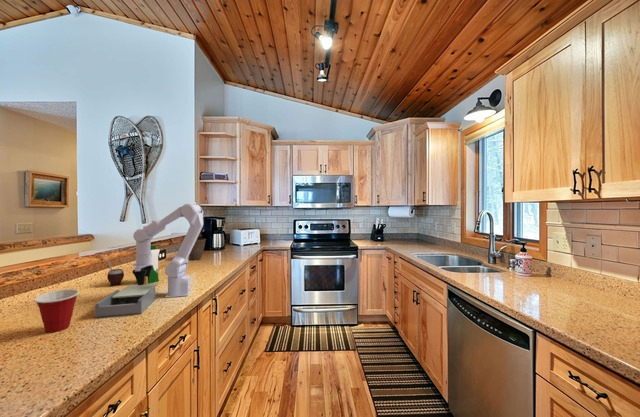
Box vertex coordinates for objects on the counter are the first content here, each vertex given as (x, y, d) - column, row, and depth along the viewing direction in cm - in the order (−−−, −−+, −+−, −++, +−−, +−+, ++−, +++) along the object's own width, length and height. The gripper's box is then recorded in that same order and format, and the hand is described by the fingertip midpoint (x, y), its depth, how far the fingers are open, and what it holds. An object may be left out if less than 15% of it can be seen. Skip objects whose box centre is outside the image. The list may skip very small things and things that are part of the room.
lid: (157, 284, 127) (158, 275, 127) (145, 295, 111) (145, 285, 111) (129, 286, 123) (129, 277, 123) (111, 298, 107) (111, 288, 107)
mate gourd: (127, 283, 143) (127, 255, 143) (114, 287, 135) (114, 258, 135) (114, 282, 144) (114, 255, 144) (101, 287, 136) (101, 258, 136)
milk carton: (161, 280, 148) (161, 245, 148) (145, 285, 140) (145, 247, 140) (150, 279, 151) (150, 244, 151) (134, 283, 143) (134, 246, 143)
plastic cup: (26, 339, 82) (26, 301, 82) (43, 325, 91) (43, 291, 91) (72, 332, 87) (72, 296, 87) (83, 320, 96) (83, 287, 96)
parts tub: (155, 299, 118) (155, 287, 118) (141, 314, 102) (141, 300, 102) (116, 302, 114) (116, 290, 114) (95, 318, 98) (95, 303, 98)
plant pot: (191, 262, 200) (191, 241, 200) (180, 259, 208) (181, 239, 208) (209, 259, 212) (209, 239, 212) (198, 257, 220) (198, 238, 220)
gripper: (139, 252, 130) (139, 279, 130) (127, 257, 116) (126, 288, 116) (155, 251, 132) (155, 278, 132) (145, 256, 118) (145, 286, 118)
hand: (143, 283), depth 124 cm, fingers open, 6 cm apart
